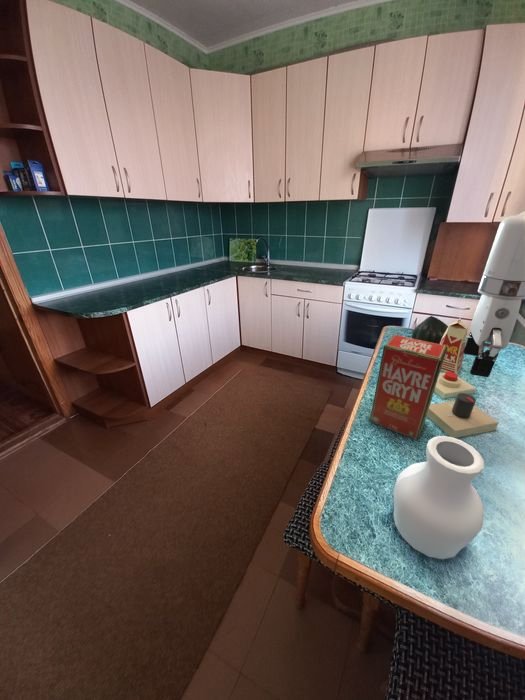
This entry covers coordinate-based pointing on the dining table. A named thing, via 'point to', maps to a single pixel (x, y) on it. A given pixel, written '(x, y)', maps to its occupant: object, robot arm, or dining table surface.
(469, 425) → the panel
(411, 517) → the vase
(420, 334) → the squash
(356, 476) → the dining table surface
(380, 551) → the dining table surface
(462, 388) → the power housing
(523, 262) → the robot arm
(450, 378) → the power button
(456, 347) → the milk carton
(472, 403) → the timer dial
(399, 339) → the food packaging
